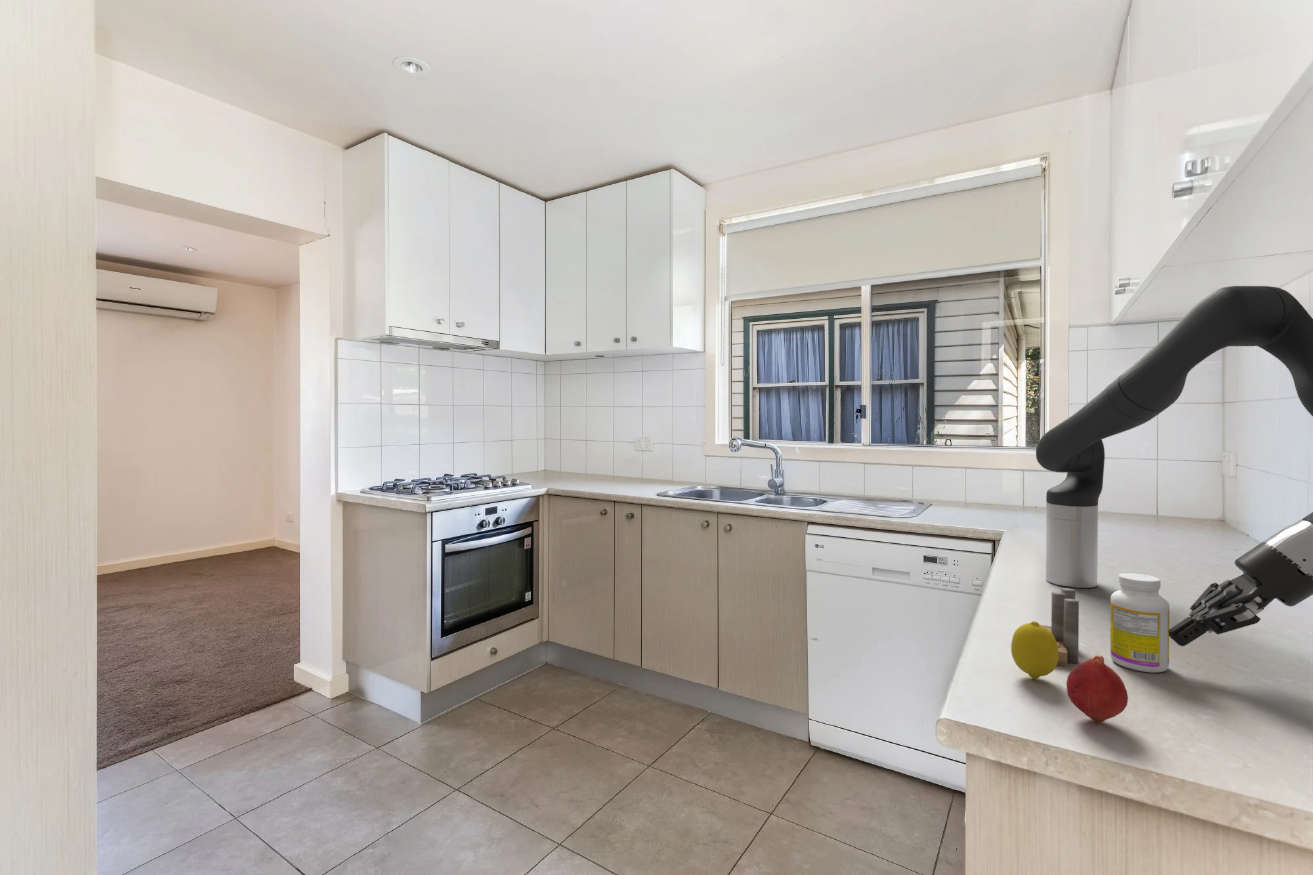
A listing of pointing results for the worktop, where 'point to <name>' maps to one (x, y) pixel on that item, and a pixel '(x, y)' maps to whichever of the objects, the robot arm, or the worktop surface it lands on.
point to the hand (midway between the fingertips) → (1173, 639)
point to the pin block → (1065, 625)
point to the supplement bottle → (1139, 624)
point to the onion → (1096, 690)
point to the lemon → (1034, 650)
